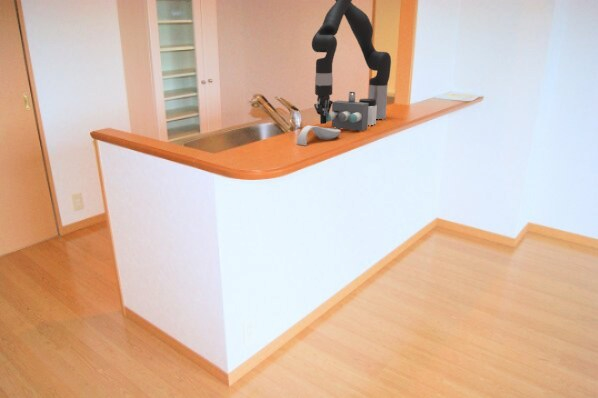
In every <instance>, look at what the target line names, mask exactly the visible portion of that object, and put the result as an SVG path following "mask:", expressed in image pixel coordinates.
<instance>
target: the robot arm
mask: <svg viewBox="0 0 598 398" xmlns="http://www.w3.org/2000/svg"><path fill="white" fill-rule="evenodd" d="M334 1H335V3H333V5H332V6H331V7H330V9H329V10H328V11H327V13H326V15H325V17H324V19H323V22H322V25H321V26H320V27H319V29H318V30H317V31H316V32H315V34H314V36H313V37H312V39H311V48H312V50H313V51H314V52H315V53H325V56H324V57H321V58H318V59H316V61H315V77H314V78H315V79H314V95H316V96H317V99H316V103H314V105H313V107H314V108H315V111H316V114H317V115H319V116H320V124H321V125H322V124H323V125H324V124H327V122H326V115H327V113H329V112H331V109H332V102H333V100H331V96H332V95H333V81H334V79H333V78H334V77H333V62H334V58H335V54H336V51H337V46H338V41H337V38H336V34H337V33H338V31H339V29H340V25H341V23H342V20H343V17H344V18H345V20H346V21H347V23H348V25H349V27H350V29H351V32H352V33H353V35H354V38H355V39H356V40H357V44H358V45H359V47H360V50H361V52H362V55H363V58H364V60H365V63H366V65H367V68H368V69H370V70H371V71H376V75H375V76H374V77H371V78H369V80H368V82H369V83H368V98H367V99H376V105H377V114H376V119H384V120H386V117H387V100H388V99H387V98H388V83H389V80H390V73H391V68H392V67H391V66H392V58H391V55H390V53H389V52H388V51H387V52H386V51H377V50H376V48H375V47H374V44H373V39H372V38H373V35H374V34H373V33H374V28H373V24H372V22H371V21H370V19H369V16H368V15H367V14H366V13H365V12H364V10H362V9H361V8H359V7H357V5H354V4H353V2H352V1H353V0H334Z"/></svg>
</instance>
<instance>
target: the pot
mask: <svg viewBox="0 0 598 398" xmlns="http://www.w3.org/2000/svg"><path fill="white" fill-rule="evenodd" d="M348 101H349V102H350V103H354V102H356V92H355V91H349V93H348Z"/></svg>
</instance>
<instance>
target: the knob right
mask: <svg viewBox="0 0 598 398" xmlns="http://www.w3.org/2000/svg"><path fill="white" fill-rule="evenodd" d="M361 119H362V115H361V113H359V112H356V113H353V114H350V115H349V121H350V122H351V123H355V122H357V121H360V120H361Z"/></svg>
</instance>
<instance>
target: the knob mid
mask: <svg viewBox="0 0 598 398" xmlns="http://www.w3.org/2000/svg"><path fill="white" fill-rule="evenodd" d="M349 115H350V112H348V111H345V112H342V113H339V114H338V120H339V121H341V122H343V121H346V120H349Z"/></svg>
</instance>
